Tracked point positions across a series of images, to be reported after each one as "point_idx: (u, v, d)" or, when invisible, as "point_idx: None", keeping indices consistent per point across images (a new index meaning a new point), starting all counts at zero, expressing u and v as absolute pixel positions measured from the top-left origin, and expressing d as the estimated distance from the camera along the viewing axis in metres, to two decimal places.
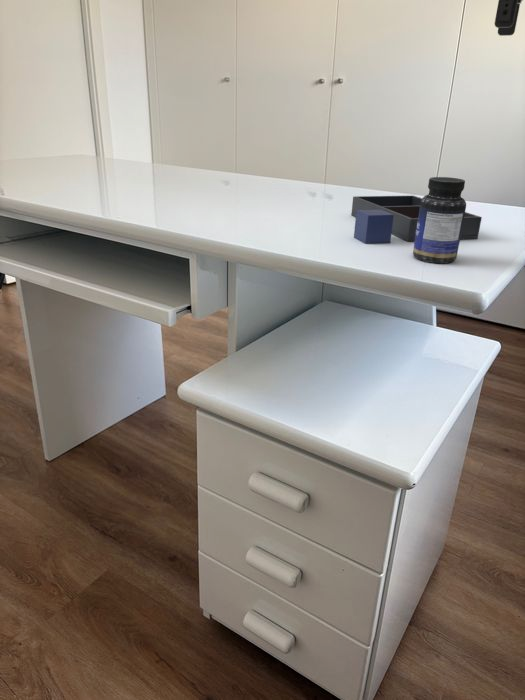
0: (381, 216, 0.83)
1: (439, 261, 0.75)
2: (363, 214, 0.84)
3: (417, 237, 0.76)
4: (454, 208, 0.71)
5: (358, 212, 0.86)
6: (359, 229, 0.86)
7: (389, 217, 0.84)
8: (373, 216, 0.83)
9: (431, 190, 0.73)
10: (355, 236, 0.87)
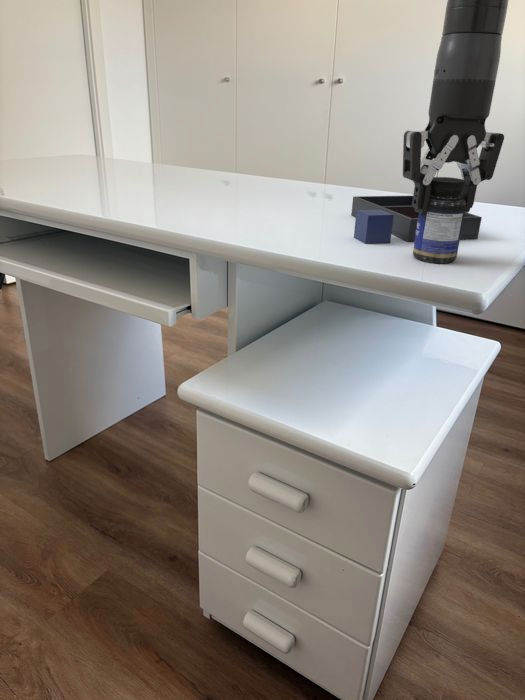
0: (381, 216, 0.83)
1: (439, 261, 0.75)
2: (363, 214, 0.84)
3: (416, 237, 0.76)
4: (454, 208, 0.71)
5: (358, 212, 0.86)
6: (359, 229, 0.86)
7: (389, 217, 0.84)
8: (373, 216, 0.83)
9: (431, 190, 0.73)
10: (355, 236, 0.87)
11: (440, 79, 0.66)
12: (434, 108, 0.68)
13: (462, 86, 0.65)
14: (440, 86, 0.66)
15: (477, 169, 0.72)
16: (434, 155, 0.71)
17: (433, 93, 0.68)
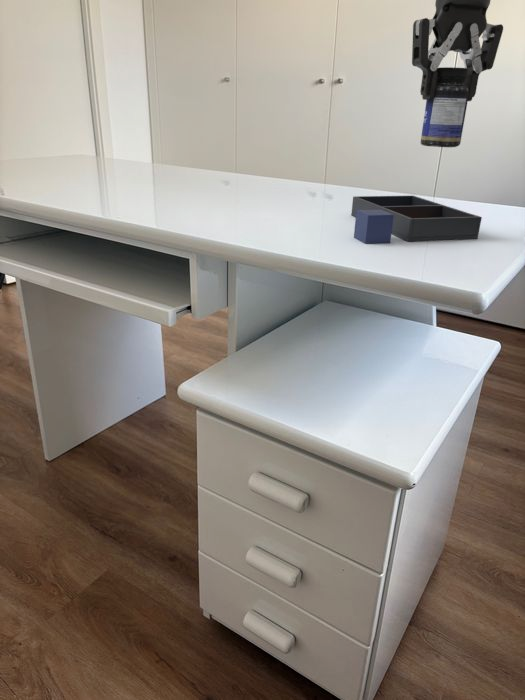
0: (381, 216, 0.83)
1: (445, 145, 0.82)
2: (363, 214, 0.84)
3: (424, 125, 0.84)
4: (458, 93, 0.79)
5: (358, 212, 0.86)
6: (359, 229, 0.86)
7: (389, 217, 0.84)
8: (373, 216, 0.83)
9: (437, 78, 0.81)
10: (355, 236, 0.87)
11: None
12: None
13: None
14: None
15: (479, 58, 0.80)
16: (440, 44, 0.79)
17: None
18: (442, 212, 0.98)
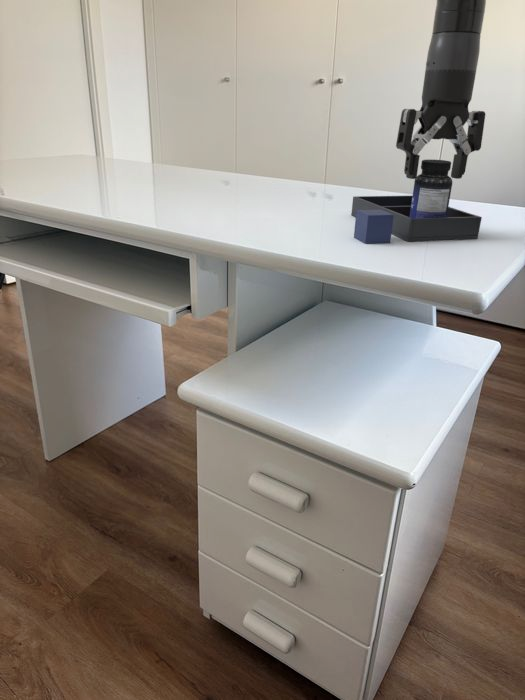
0: (381, 216, 0.83)
1: None
2: (363, 214, 0.84)
3: (411, 210, 0.91)
4: (442, 184, 0.87)
5: (358, 212, 0.86)
6: (359, 229, 0.86)
7: (389, 217, 0.84)
8: (373, 216, 0.83)
9: (423, 170, 0.88)
10: (355, 236, 0.87)
11: (431, 70, 0.81)
12: (426, 94, 0.83)
13: (448, 75, 0.80)
14: (431, 75, 0.81)
15: (466, 142, 0.87)
16: (425, 131, 0.85)
17: (425, 81, 0.83)
18: None
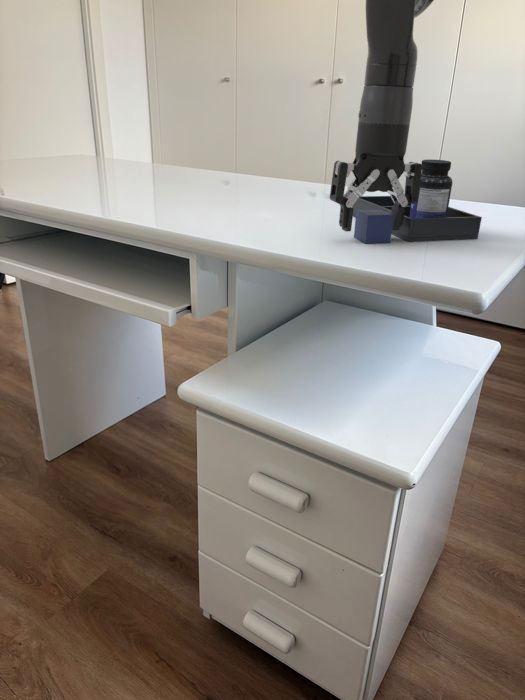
0: (381, 216, 0.83)
1: None
2: (363, 214, 0.84)
3: (411, 210, 0.91)
4: (442, 184, 0.87)
5: (358, 212, 0.86)
6: (359, 229, 0.86)
7: (389, 217, 0.84)
8: (373, 216, 0.83)
9: (423, 170, 0.88)
10: (355, 236, 0.87)
11: (362, 122, 0.78)
12: (359, 146, 0.80)
13: (379, 129, 0.76)
14: (362, 128, 0.78)
15: (402, 194, 0.84)
16: (359, 183, 0.82)
17: (358, 133, 0.80)
18: None
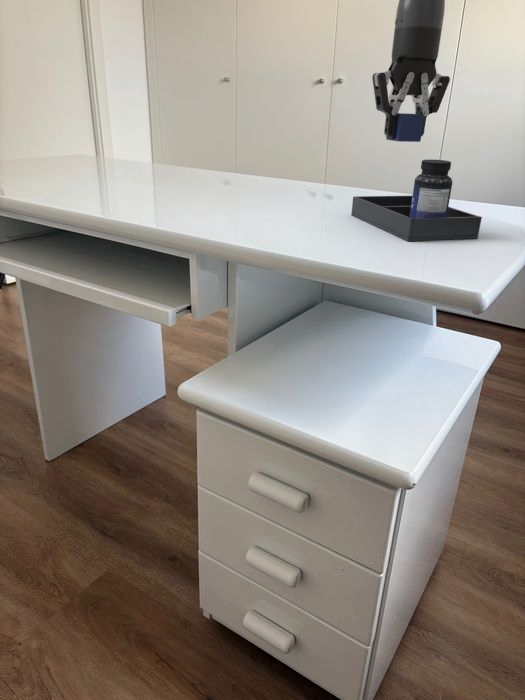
0: (413, 115, 0.91)
1: None
2: None
3: (411, 210, 0.91)
4: (442, 184, 0.87)
5: None
6: None
7: (420, 117, 0.92)
8: (406, 114, 0.91)
9: (423, 170, 0.88)
10: None
11: (399, 27, 0.86)
12: (395, 51, 0.88)
13: (415, 32, 0.85)
14: (399, 33, 0.86)
15: (427, 103, 0.92)
16: (398, 91, 0.91)
17: (394, 39, 0.88)
18: None
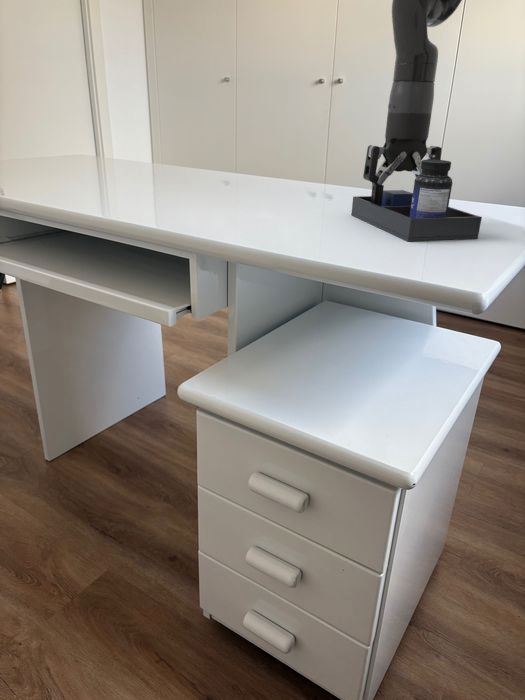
0: (404, 195, 0.98)
1: None
2: (389, 193, 0.99)
3: (411, 210, 0.91)
4: (442, 184, 0.87)
5: (384, 192, 1.01)
6: None
7: (411, 196, 0.99)
8: (397, 195, 0.98)
9: (423, 170, 0.88)
10: None
11: (391, 112, 0.93)
12: (388, 132, 0.95)
13: (406, 118, 0.92)
14: (392, 117, 0.93)
15: None
16: (388, 164, 0.97)
17: (387, 122, 0.95)
18: None
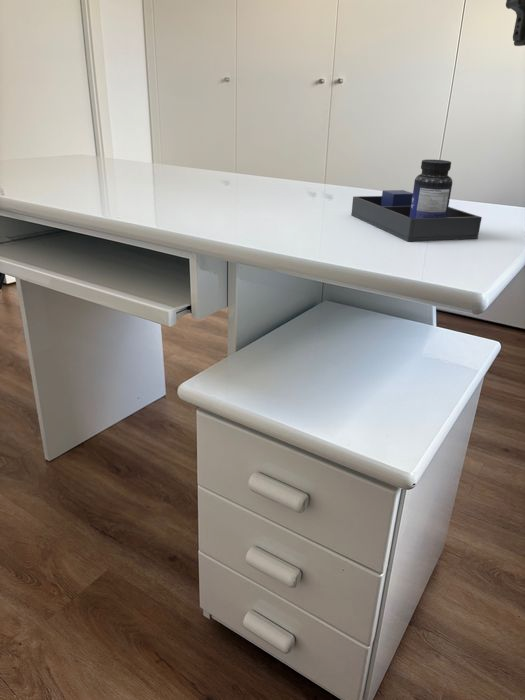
0: (404, 195, 0.98)
1: None
2: (389, 193, 0.99)
3: (411, 210, 0.91)
4: (442, 184, 0.87)
5: (384, 192, 1.01)
6: None
7: (411, 196, 0.99)
8: (397, 195, 0.98)
9: (423, 170, 0.88)
10: None
11: None
12: None
13: None
14: None
15: None
16: None
17: None
18: None
